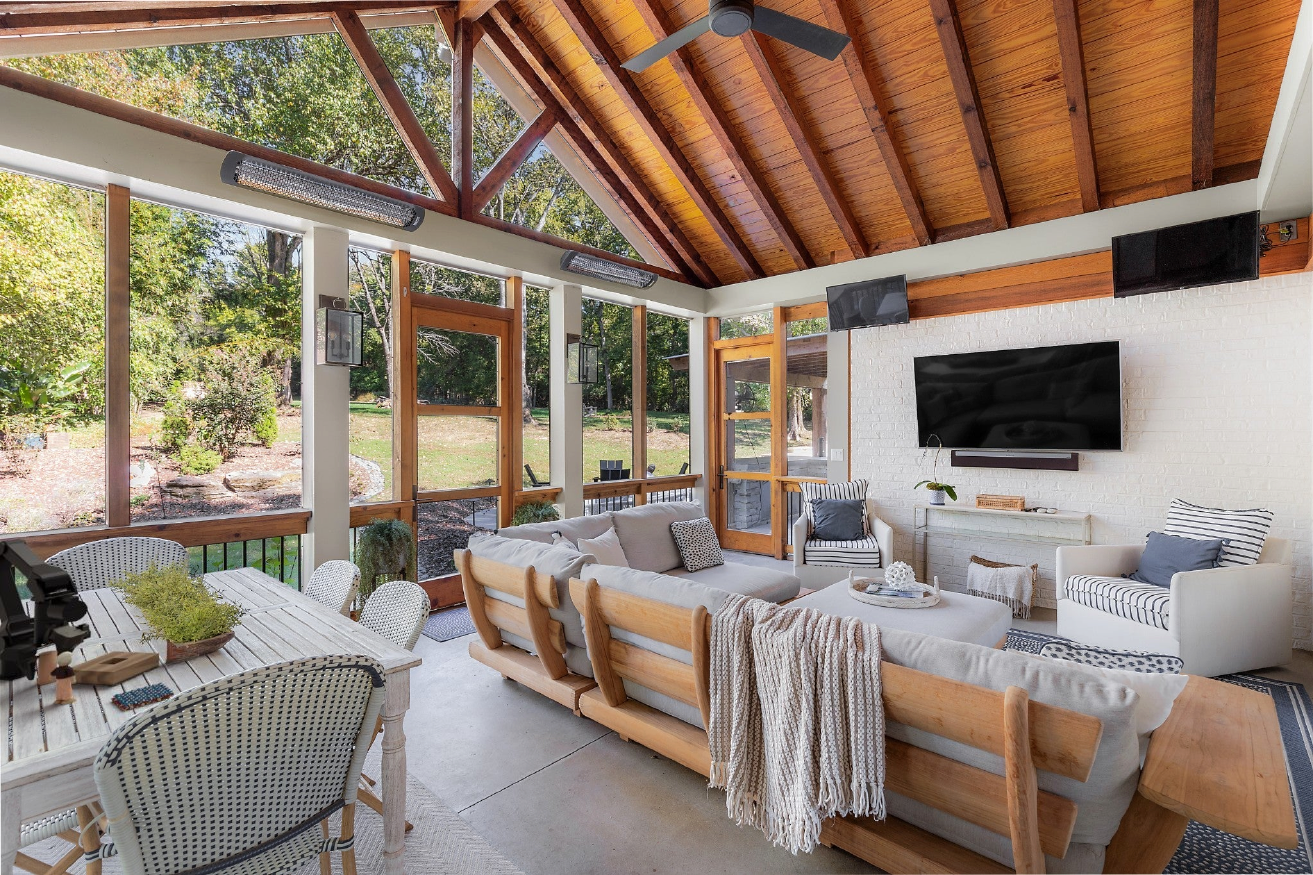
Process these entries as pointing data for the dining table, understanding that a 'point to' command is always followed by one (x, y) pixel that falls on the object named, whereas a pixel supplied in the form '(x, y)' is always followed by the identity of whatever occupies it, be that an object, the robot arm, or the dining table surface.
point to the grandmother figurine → (63, 678)
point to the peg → (46, 666)
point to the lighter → (178, 654)
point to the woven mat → (141, 696)
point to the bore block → (114, 668)
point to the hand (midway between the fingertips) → (47, 674)
